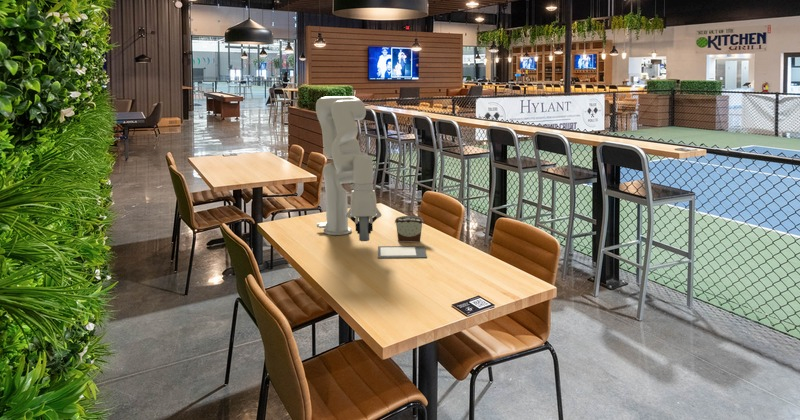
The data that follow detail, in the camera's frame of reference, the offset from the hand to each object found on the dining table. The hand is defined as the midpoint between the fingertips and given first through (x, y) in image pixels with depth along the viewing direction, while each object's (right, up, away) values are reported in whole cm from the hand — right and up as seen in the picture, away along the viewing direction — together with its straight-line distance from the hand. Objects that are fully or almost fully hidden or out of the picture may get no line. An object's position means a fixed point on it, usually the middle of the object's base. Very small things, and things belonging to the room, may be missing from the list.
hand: (364, 232), depth 230 cm
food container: (+18, -4, +20) cm, 28 cm away
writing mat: (+15, -8, +3) cm, 17 cm away
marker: (0, -3, +1) cm, 3 cm away
